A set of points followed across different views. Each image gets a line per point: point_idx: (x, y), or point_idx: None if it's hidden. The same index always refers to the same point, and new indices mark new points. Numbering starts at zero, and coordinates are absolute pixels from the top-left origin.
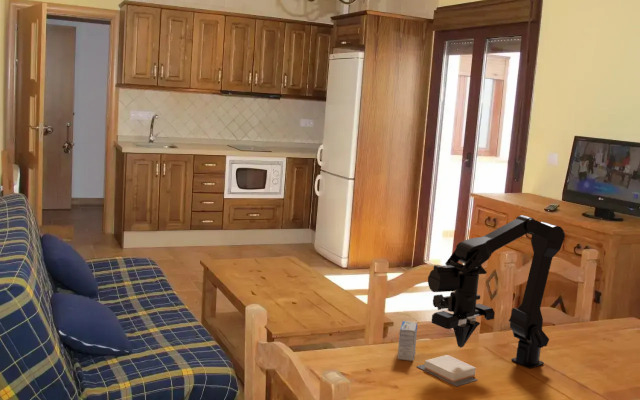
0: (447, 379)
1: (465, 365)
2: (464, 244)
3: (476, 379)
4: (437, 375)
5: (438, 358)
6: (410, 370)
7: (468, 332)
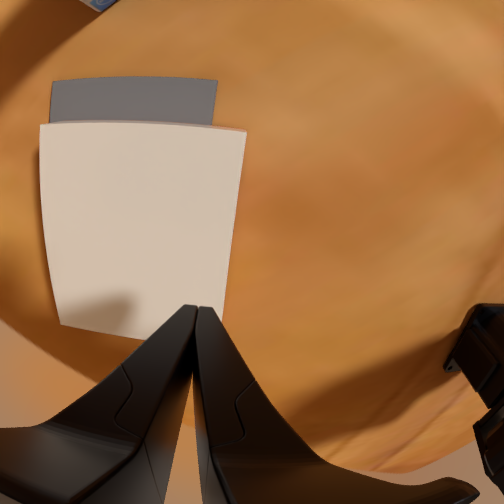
0: None
1: None
2: None
3: None
4: None
5: (129, 143)
6: (9, 102)
7: (201, 487)
